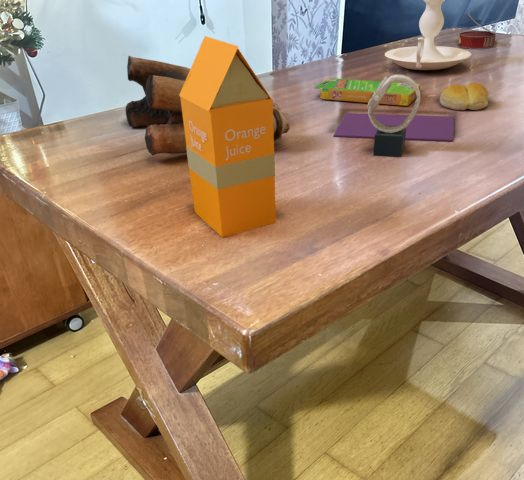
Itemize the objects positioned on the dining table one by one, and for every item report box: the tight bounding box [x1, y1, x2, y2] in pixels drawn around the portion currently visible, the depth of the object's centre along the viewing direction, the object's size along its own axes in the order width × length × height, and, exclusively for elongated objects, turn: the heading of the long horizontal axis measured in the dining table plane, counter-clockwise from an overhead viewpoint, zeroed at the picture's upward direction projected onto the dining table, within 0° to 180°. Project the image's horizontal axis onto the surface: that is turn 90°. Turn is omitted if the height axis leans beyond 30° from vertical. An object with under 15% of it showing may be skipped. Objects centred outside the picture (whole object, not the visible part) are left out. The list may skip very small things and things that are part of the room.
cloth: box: [333, 112, 455, 142], centre depth 97 cm, size 20×14×1 cm
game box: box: [313, 78, 421, 107], centre depth 114 cm, size 3×10×20 cm
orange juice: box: [179, 35, 277, 238], centre depth 64 cm, size 8×9×20 cm
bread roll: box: [439, 82, 489, 111], centre depth 105 cm, size 8×9×4 cm
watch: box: [366, 73, 421, 158], centre depth 84 cm, size 6×8×11 cm
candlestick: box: [384, 0, 472, 71], centre depth 125 cm, size 21×25×28 cm
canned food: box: [457, 11, 497, 50], centre depth 153 cm, size 11×10×10 cm
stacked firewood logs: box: [125, 55, 290, 156], centre depth 95 cm, size 13×31×25 cm
